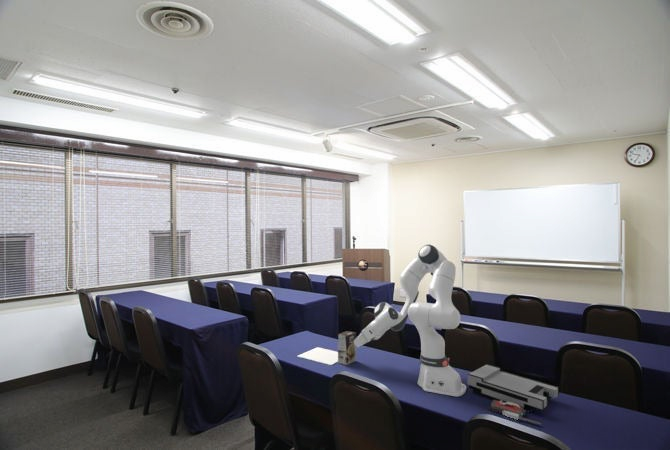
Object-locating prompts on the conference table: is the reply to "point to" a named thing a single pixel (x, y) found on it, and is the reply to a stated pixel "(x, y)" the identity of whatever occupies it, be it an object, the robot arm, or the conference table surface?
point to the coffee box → (346, 347)
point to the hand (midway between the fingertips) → (358, 345)
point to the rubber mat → (321, 356)
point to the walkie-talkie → (509, 410)
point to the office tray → (511, 388)
